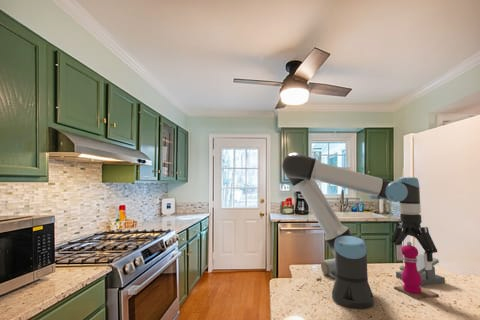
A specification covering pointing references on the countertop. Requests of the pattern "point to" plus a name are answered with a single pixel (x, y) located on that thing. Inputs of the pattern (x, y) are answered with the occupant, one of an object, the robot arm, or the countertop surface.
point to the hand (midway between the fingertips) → (413, 264)
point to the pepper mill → (411, 270)
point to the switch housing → (427, 277)
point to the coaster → (423, 294)
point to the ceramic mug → (329, 267)
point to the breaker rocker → (420, 264)
